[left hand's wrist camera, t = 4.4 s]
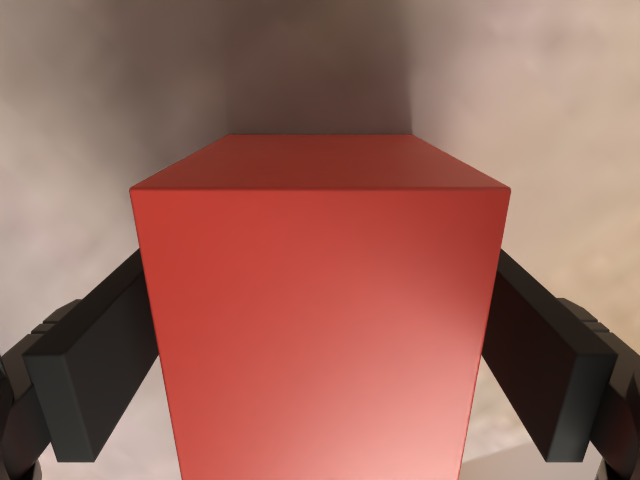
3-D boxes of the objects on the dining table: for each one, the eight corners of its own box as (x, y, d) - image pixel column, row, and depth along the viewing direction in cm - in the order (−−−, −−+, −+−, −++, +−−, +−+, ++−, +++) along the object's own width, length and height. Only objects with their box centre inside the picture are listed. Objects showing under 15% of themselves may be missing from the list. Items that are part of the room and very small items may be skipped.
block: (244, 336, 17) (187, 521, 10) (227, 134, 14) (126, 187, 7) (396, 336, 17) (452, 520, 10) (412, 134, 14) (513, 187, 7)
